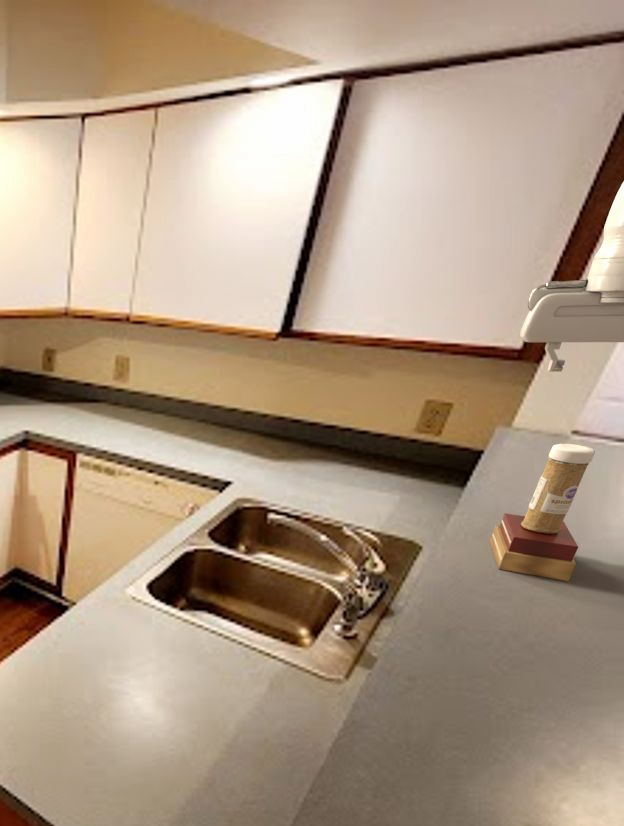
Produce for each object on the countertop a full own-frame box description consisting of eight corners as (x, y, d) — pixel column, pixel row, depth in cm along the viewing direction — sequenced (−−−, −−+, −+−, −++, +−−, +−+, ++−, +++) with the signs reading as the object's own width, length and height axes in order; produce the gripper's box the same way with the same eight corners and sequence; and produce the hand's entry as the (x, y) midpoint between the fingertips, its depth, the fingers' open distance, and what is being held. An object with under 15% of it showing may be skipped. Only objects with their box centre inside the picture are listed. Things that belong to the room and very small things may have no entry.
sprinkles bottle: (549, 537, 96) (586, 453, 90) (513, 526, 99) (546, 445, 94) (565, 531, 97) (603, 448, 91) (529, 520, 101) (563, 441, 95)
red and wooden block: (553, 550, 103) (566, 520, 100) (568, 581, 94) (583, 548, 92) (489, 540, 107) (500, 511, 105) (497, 568, 98) (510, 537, 96)
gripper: (538, 282, 97) (510, 372, 102) (741, 274, 86) (698, 376, 91) (530, 281, 102) (504, 368, 107) (721, 274, 91) (682, 371, 96)
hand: (595, 372), depth 99 cm, fingers open, 8 cm apart
